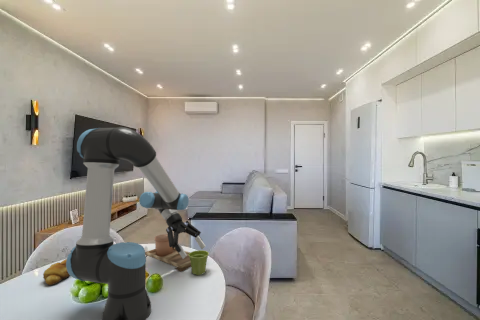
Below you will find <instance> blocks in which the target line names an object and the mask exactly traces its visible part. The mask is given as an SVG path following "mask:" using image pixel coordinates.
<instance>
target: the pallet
mask: <svg viewBox="0 0 480 320" xmlns="http://www.w3.org/2000/svg"><path fill="white" fill-rule="evenodd" d="M184 251H185V253H186V254H187V256H186V257H185V258H184V259H183V258H182V257H181V255H180V254H179V253H178V252H177V251H176V249H175V248H173V253H172V254H169V255H167V256H157V255H156V252H155V248H154V249H150V250H148V251H145V256H146V257H147V256H148V257H150V258H152V259H155V260H158V261H160V262H163V263H166V264H167V265H170V266H173V267H175V268H174V270H175V271H178V272H180V273H182V272H184V271H186V270H188V269H190V268H191V261H190V258H189V256H188V254H189V253H190V252H191V251H190V252H189V251H186V250H184Z"/></svg>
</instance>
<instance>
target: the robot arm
mask: <svg viewBox="0 0 480 320" xmlns="http://www.w3.org/2000/svg"><path fill="white" fill-rule="evenodd" d="M76 151H77V153H79V156H80V157H81V158H82V159H83V163H82V164H83V165H84V166H85V167H86V168H87V172H86V173H87V174H86V177H87V178H86V185H85V187H86V188H85V195H84V196H85V197H84V199H85V200H84V209H83V210H84V211H83V220H82V229H81V230H82V232H81V237H80V238H79V239H78V240H76V243H75V244H76V245H75V246H74V247H73V248H72V249H71V250H70V253H68V255H67V258H66V259H67V260H66V268H67V271H68V273H69V277H71V278H72V279H76V280H79V281H82V282H92V283H93V282H94V283H100V284H107V299H106V301H105V305H104V308H103V311H102V314H101V320H146V319H147V318H149V316H150V315H151V312H152V302H151V300H150V296H149V294H148V291H147V289H146V286H147V285H146V284H147V283H146V279H147V278H146V275H147V274H146V271H147V270H146V267H147V266H146V263H147V256H146V255H145V252H146V250H145V248H144V246H143V245H142V244H140V243H138V242H132V241H131V242H130V241H126V242H118V243H114V241H115V240H114V238H113V237H112V236H111V234H110V232H111V220H112V219H111V218H112V205H113V193H114V179H115V170H116V169H117V168H119V166H120V162H121V161H122V160H124V161H128V162H129V163H130V164H131V165H133V167H135V168H138V170H140V172H141V173H142V174H143V175H144V176H145V178H146V179H147V181H148V182H149V183H150V184H151V186H152V187H153V188H154V190H155V192H152V191H144V192H143V193H141V194H140V196H139V201H138V203H139V205H140V207H142V208H145V209H154V210H157V211H158V212H159V214H160V215H161V217H162V219H163V220H164V221H165V223H166V225H167V226H168V227H167V228H166V229H165V231H166V234H168V240H169V247H172V248H175V249H176V251H177V252H178V253H179V254H180V255H181V257H182V258H183V259H184V258H185V257H186V256H187V254H186V253H185V251H186V250H185V249H184V248H183V246H182V244H181V243H179V235H180V234H181V233H184V234H185V233H186V234H188V235H189V236H191V237H193V238H194V241H195V242H196V243H197V244H198V245H197V246H199V248H200V250H203V249H205V248H206V244H205V243H204V242H203V239H202V237H201V233H202V232H201V231H200V230H199V229H197V228H196V227H195V226H193V225H192V224H191V223H190V221H188V220H186V221H185V222H183V217H182V215H180V213H179V211H185V210H186V209H187V208H188V205H189V202H190V201H189V199H190V198H189V196H188V194H185V193H180V191H179V190H178V188H177V187H176V185H175V184H174V182H173V181H172V180H171V178H170V176H169V175H168V173H167V172H166V170H165V168H164V167H163V165H162V163H160V161H159V159H158V158H157V152H156V149H155V148H154V147H153V145H152V144H151V143H150V142H149V141H148V140H147V139H146V138H145V137H144V136H143V135H142V134H140V133H139V132H137V131H135V130H133V129H131V128H130V127H129V128H128V127H122V126H120V127H98V128H97V127H96V128H90V129H87V130H85V131H84V132H82V133H81V134H80V135H79V137H78V139H77V142H76ZM120 160H121V161H120ZM173 236H174V238H173Z"/></svg>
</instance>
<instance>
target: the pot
mask: <svg viewBox="0 0 480 320" xmlns="http://www.w3.org/2000/svg"><path fill="white" fill-rule="evenodd" d="M173 238H174V235H173ZM154 242H155V248H154V249H155V252H156V255H157V256H167V255H169V254H172V253H173V248H172V247H169V240H168V233H164V234H159V235H155V236H154Z"/></svg>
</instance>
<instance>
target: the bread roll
mask: <svg viewBox="0 0 480 320" xmlns="http://www.w3.org/2000/svg"><path fill="white" fill-rule="evenodd" d="M66 260H67V258H66V259H64V260H62V261H61V262H56V263H53V264H51V265H50V266H49V267H48V268H47V269H45V270H44V272H43V274H42V275H43V277H42V278H43V279H44V282H45V284H47V285H49V286H51V285H55V284H58V283H60V282H61V281H62V280H65V279H67V278H68V277H70V275H69V273H68V271H67V268H66Z"/></svg>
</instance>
